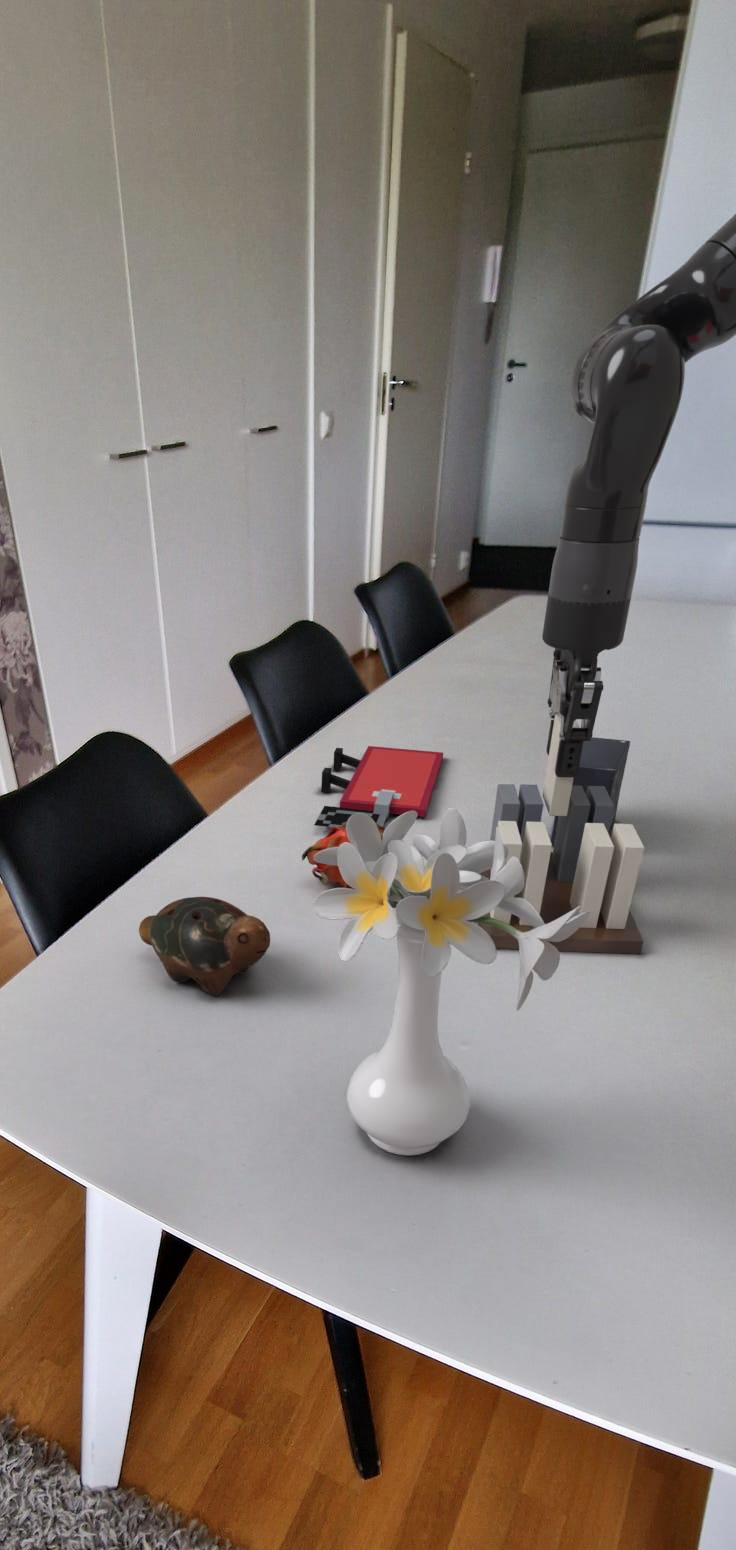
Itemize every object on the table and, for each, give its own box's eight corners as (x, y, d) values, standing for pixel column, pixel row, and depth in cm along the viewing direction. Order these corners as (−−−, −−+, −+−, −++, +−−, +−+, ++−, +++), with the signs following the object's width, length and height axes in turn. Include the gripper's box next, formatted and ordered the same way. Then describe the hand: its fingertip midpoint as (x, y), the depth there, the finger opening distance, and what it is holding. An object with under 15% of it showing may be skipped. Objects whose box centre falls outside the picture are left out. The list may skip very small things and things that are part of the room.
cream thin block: (559, 795, 101) (572, 713, 96) (566, 816, 97) (581, 731, 92) (542, 795, 102) (555, 713, 96) (549, 815, 97) (563, 731, 92)
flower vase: (504, 1228, 64) (569, 910, 49) (271, 1141, 71) (266, 843, 56) (554, 1117, 73) (621, 820, 58) (342, 1050, 80) (354, 773, 66)
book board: (603, 865, 108) (605, 853, 107) (640, 954, 92) (643, 941, 91) (464, 861, 110) (466, 849, 109) (477, 947, 94) (479, 935, 93)
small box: (563, 813, 120) (578, 733, 114) (615, 821, 118) (633, 739, 112) (546, 845, 113) (561, 761, 106) (601, 854, 110) (619, 769, 104)
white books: (614, 903, 97) (632, 823, 92) (624, 929, 93) (644, 847, 88) (487, 899, 99) (498, 820, 94) (491, 924, 94) (503, 843, 89)
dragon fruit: (411, 911, 103) (309, 911, 107) (418, 844, 106) (318, 846, 110) (398, 874, 96) (289, 876, 100) (406, 803, 98) (299, 808, 102)
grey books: (588, 861, 106) (604, 785, 100) (597, 883, 101) (614, 805, 96) (487, 858, 107) (497, 783, 101) (491, 880, 102) (502, 803, 97)
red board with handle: (299, 830, 117) (417, 843, 114) (299, 809, 115) (419, 822, 112) (343, 752, 140) (442, 761, 137) (344, 734, 139) (444, 743, 136)
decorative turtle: (251, 1018, 85) (241, 944, 80) (119, 986, 91) (103, 916, 87) (299, 964, 91) (293, 892, 86) (173, 937, 98) (160, 869, 93)
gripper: (648, 607, 81) (611, 792, 91) (616, 575, 92) (585, 742, 102) (560, 608, 81) (532, 791, 91) (539, 576, 93) (516, 742, 103)
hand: (560, 764), depth 97 cm, fingers closed on cream thin block, 5 cm apart
